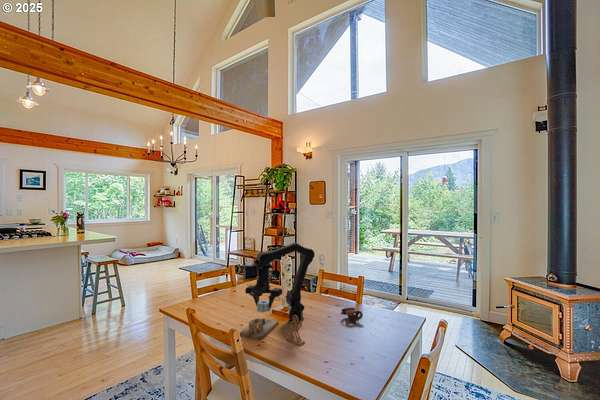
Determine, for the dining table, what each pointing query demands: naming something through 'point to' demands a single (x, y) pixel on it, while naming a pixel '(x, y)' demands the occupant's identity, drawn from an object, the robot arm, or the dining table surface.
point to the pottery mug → (351, 315)
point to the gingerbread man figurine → (292, 338)
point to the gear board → (259, 328)
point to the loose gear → (263, 306)
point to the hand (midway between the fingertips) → (263, 307)
